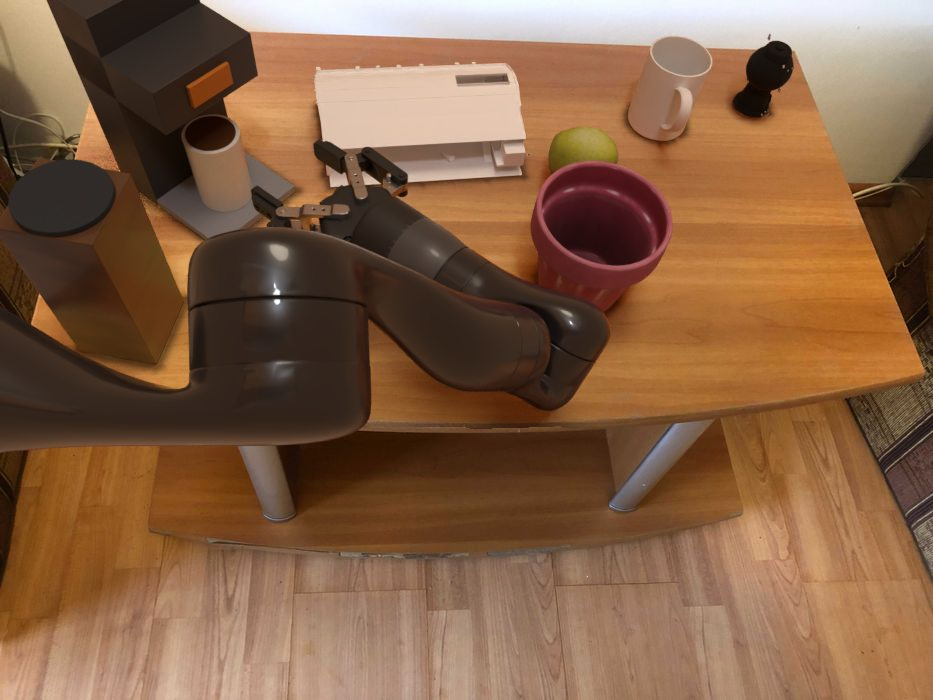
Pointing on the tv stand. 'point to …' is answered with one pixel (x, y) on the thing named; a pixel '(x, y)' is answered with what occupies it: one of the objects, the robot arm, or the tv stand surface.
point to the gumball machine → (764, 78)
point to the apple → (581, 147)
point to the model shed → (425, 119)
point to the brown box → (104, 278)
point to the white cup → (218, 162)
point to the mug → (669, 87)
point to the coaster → (62, 198)
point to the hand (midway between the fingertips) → (285, 170)
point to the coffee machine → (163, 93)
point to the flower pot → (598, 230)
